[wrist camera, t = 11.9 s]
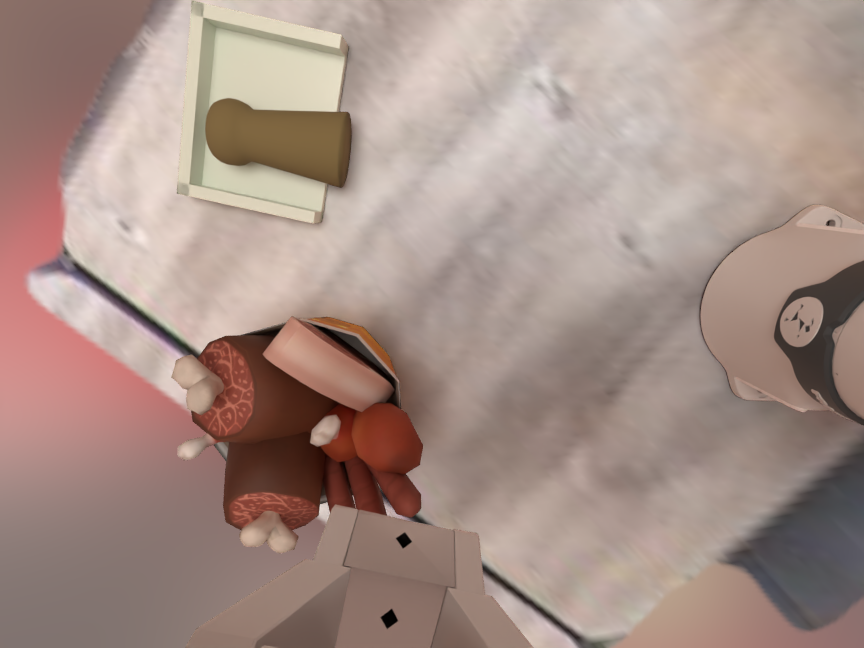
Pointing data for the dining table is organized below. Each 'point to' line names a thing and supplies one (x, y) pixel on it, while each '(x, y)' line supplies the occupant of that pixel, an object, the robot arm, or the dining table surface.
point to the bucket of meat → (301, 426)
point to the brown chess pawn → (281, 139)
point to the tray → (255, 103)
